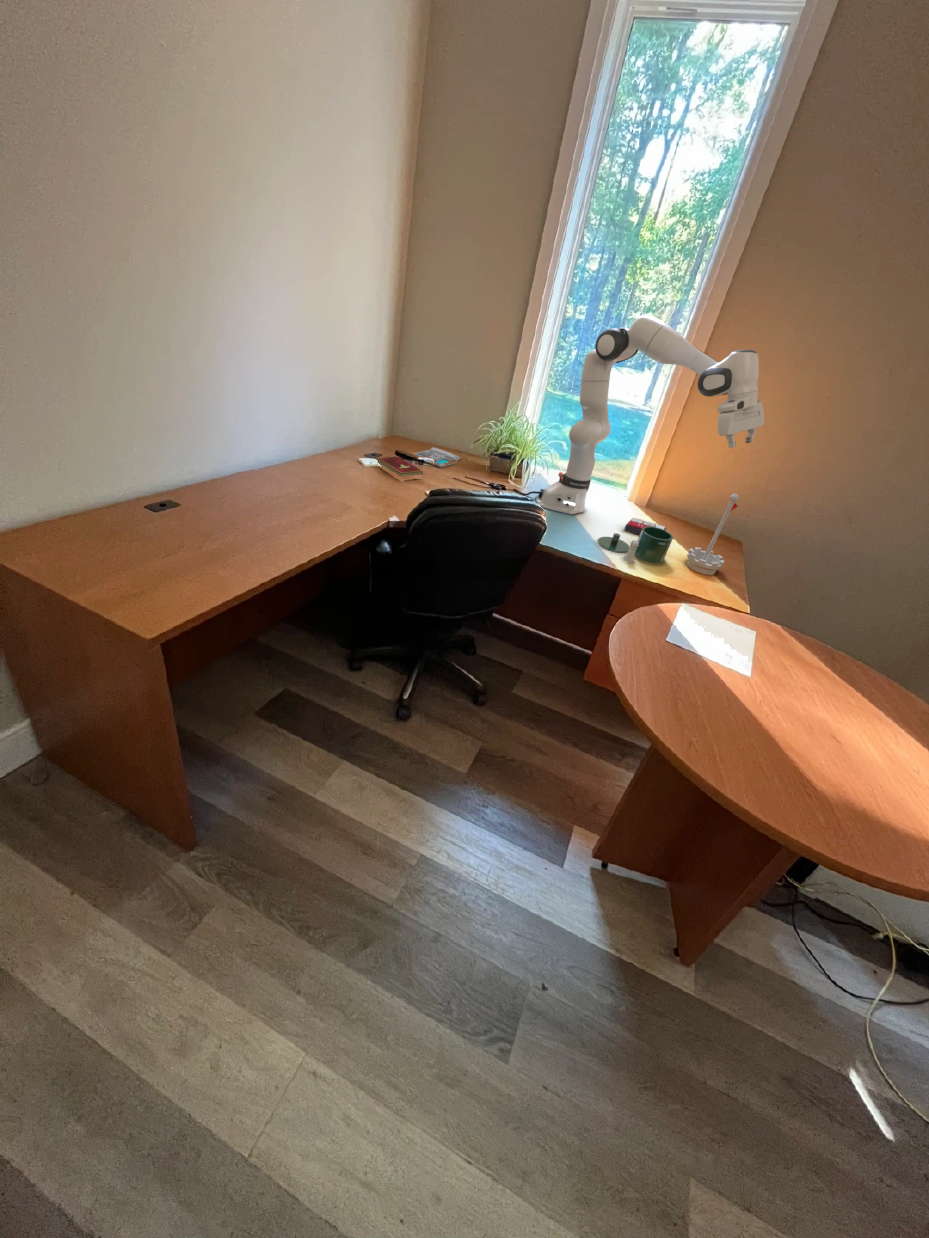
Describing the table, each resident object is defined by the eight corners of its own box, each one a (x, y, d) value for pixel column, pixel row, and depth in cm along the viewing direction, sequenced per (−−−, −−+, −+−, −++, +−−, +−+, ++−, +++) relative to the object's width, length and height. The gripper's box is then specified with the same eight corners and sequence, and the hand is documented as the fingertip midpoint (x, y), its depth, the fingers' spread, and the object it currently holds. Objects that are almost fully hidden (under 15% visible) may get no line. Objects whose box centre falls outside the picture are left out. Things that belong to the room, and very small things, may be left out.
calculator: (632, 516, 215) (667, 525, 210) (629, 525, 218) (663, 535, 212) (626, 523, 207) (661, 533, 202) (623, 532, 210) (658, 543, 204)
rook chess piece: (621, 561, 185) (628, 542, 180) (622, 556, 188) (629, 538, 184) (633, 565, 184) (641, 546, 179) (634, 560, 187) (641, 541, 183)
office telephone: (435, 445, 264) (465, 456, 256) (434, 450, 266) (465, 460, 258) (408, 452, 247) (440, 463, 239) (407, 457, 249) (439, 468, 241)
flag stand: (705, 578, 183) (742, 502, 166) (677, 561, 192) (709, 488, 175) (725, 573, 190) (763, 499, 173) (697, 557, 198) (730, 486, 181)
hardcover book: (397, 463, 238) (398, 455, 236) (422, 479, 226) (423, 470, 224) (376, 466, 231) (376, 457, 229) (400, 482, 219) (401, 472, 217)
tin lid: (599, 551, 190) (603, 538, 187) (595, 537, 200) (598, 525, 197) (631, 556, 190) (636, 544, 187) (625, 542, 200) (629, 530, 197)
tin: (637, 565, 184) (647, 540, 178) (628, 545, 198) (637, 521, 192) (667, 570, 184) (678, 545, 178) (656, 550, 198) (666, 526, 192)
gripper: (752, 399, 173) (750, 440, 178) (714, 408, 164) (713, 450, 170) (770, 397, 167) (767, 439, 172) (732, 405, 159) (730, 450, 164)
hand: (740, 445), depth 171 cm, fingers open, 8 cm apart
